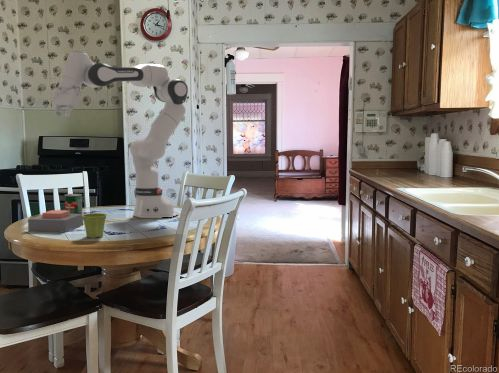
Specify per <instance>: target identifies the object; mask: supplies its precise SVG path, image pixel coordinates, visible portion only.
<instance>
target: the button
mask: <svg viewBox="0 0 499 373" xmlns="http://www.w3.org/2000/svg"><path fill="white" fill-rule="evenodd" d="M41 215H42V217H43V218H64V217H67V216H70V211H65V210H59V209H57V210H56V209H55V210H53V209H52V210H48V211H44V212H42V214H41Z"/></svg>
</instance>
